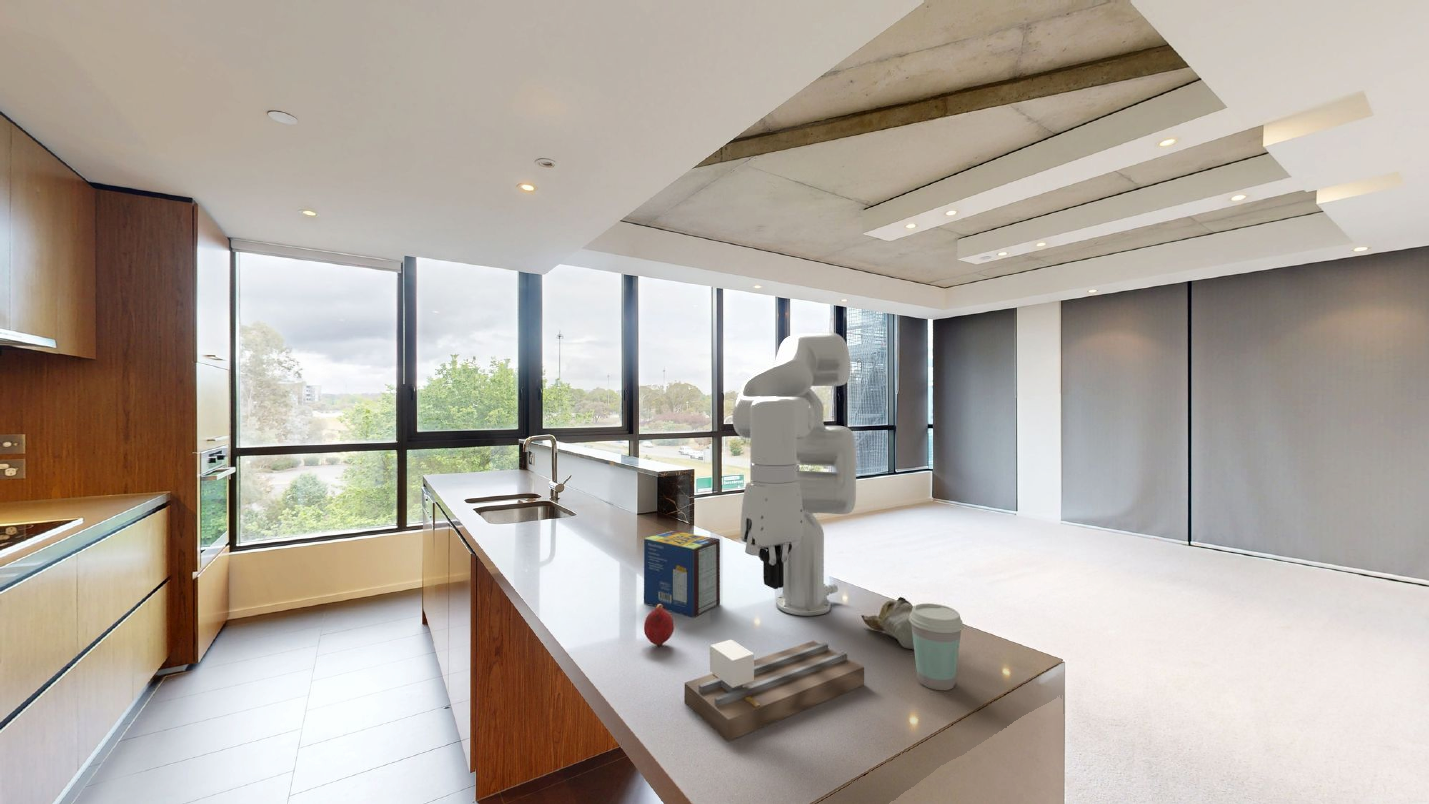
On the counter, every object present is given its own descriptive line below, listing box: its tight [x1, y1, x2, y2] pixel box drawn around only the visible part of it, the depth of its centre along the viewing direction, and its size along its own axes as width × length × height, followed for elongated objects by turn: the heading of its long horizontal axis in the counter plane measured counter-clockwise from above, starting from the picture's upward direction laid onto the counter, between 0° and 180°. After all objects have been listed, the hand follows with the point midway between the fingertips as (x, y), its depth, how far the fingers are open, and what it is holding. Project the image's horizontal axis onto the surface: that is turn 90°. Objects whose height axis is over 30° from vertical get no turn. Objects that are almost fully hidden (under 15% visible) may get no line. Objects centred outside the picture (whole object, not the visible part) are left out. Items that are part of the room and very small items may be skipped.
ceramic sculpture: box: [861, 596, 914, 650], centre depth 109 cm, size 11×9×15 cm
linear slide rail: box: [683, 640, 865, 742], centre depth 88 cm, size 28×12×4 cm, turn 124°
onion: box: [643, 604, 675, 647], centre depth 105 cm, size 6×6×8 cm
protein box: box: [643, 530, 721, 619], centre depth 128 cm, size 10×15×16 cm
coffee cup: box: [909, 602, 964, 691], centre depth 92 cm, size 8×9×12 cm
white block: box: [709, 639, 755, 692], centre depth 83 cm, size 4×6×6 cm, turn 34°
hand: (773, 585), depth 88 cm, fingers closed
